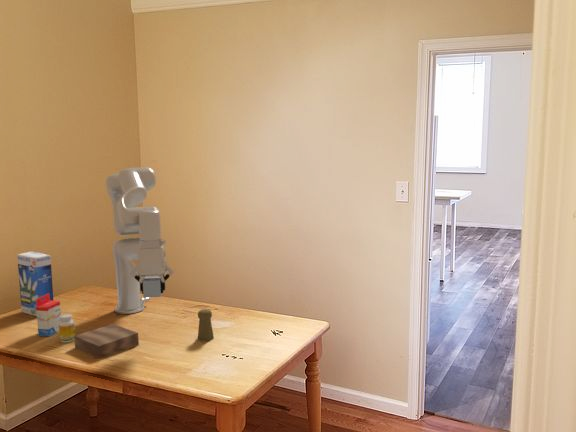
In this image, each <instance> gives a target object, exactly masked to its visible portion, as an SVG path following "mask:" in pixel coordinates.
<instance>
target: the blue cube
mask: <svg viewBox="0 0 576 432" xmlns="http://www.w3.org/2000/svg"><path fill="white" fill-rule="evenodd" d="M162 295H163V293H161V279H160V277H159V275H157V276H145V277H144V280H143V294H142V297H143V298H146V297H149V298H161V297H162Z"/></svg>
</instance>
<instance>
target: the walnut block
mask: <svg viewBox="0 0 576 432" xmlns="http://www.w3.org/2000/svg"><path fill="white" fill-rule="evenodd" d="M74 339H75V340H74V348H75V349H76V350H79V351H81V352H83V351H84V353H86V354H88V355H91V356H93V357H95V358H97V359H100V360H101V359H103V358H106V357H107V358H108V357H110V356H111V355H114V354H115V355H116V354H118V353H121V352H123V351H126V350H130V349H132V348H134V347H137V346H140V343H139V342H140V341H139V332H137V331H134V330H132V329H129V328H125V327H122V326H120V325H117V324H114V323H111V324H108V325H105V326H104V325H103V326H102V327H99V328H95V329H92V330H89V331H85V332H82V333H79V334H77V335H76V334H75V336H74Z"/></svg>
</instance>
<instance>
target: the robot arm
mask: <svg viewBox="0 0 576 432" xmlns="http://www.w3.org/2000/svg"><path fill="white" fill-rule="evenodd" d="M156 177H157V176H156V173H155V171H154V170H153V169H152V168H150V167H148V166H147V167H146V166H145V167H127V168H124V169H121V170H120V171H119V173H113V174H110V175H107V177H106V179H105V185H106V186H105V187H106V191H107V194H108V196H109V198H110V201H111V204H112V214H113V215H112V217H113V227H114V231H115V234H117V235H119V236H131V235H132V236H133V235H139V237H138V236H137V237H128V238H127V237H125V238H120V239H117V240H115V241H114V242H112V243H113V244H112V248H111V249H112V254H113V258H114V266H115V278H116V279H115V280H116V296H117V305H116V306H115V307H114V312H115V313H117V314H121V315H126V314H127V315H129V314H137V313H139V312H142V311H143V310H144V309H145V304H144V303H146V302H150V299H151V297H145V298H144V297H143V296H142V297H141V293H142V295H143V280H144V278H145V277H154V276H159V277H160V279H161V293H162V294H164V291H166V281H167V280H168V279H169V278H170V277H171V276H172V275H173V274H174V272H175V271H174V269H173V268H171V267H170V266H169V265H168V264H167V257H166V256H167V255H166V249H165V247H164V246H163V245H166V243H167V242H166V240H164V239H162V229H161V227H162V225H161V213H160V210H159V209H158V207H156V206H153V205H152V206H151V205H150V206H138V205H140V204H142V203H143V202H144V201H145V200H146V199H147V195H148V192H149V191H151V190H152V189H154V188H155V186H156V183H157V178H156ZM135 260H136V264H135V263H134V262H133V261H135ZM166 271H167V273H166Z"/></svg>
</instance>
